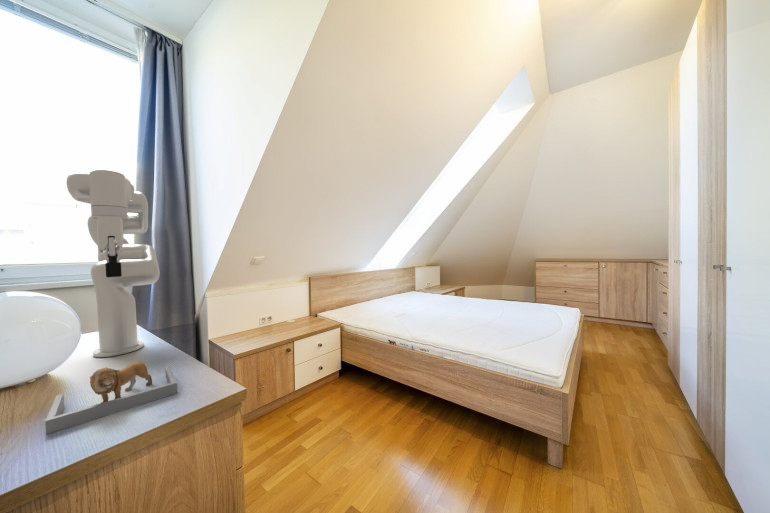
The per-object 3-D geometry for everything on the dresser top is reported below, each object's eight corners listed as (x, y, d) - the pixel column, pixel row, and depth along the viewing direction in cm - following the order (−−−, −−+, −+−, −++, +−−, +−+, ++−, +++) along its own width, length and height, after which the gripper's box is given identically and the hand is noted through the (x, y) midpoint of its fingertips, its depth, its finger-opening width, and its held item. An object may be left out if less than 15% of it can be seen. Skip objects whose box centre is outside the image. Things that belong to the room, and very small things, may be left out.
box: (57, 406, 61) (56, 395, 61) (170, 375, 75) (169, 366, 75) (46, 434, 52) (45, 421, 52) (177, 393, 66) (176, 382, 66)
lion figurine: (110, 413, 58) (107, 371, 58) (82, 415, 58) (79, 373, 57) (158, 380, 73) (157, 346, 72) (136, 381, 72) (134, 348, 72)
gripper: (93, 215, 82) (97, 276, 83) (89, 209, 71) (93, 279, 72) (127, 217, 87) (130, 274, 88) (128, 211, 77) (132, 277, 77)
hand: (114, 276), depth 80 cm, fingers closed
